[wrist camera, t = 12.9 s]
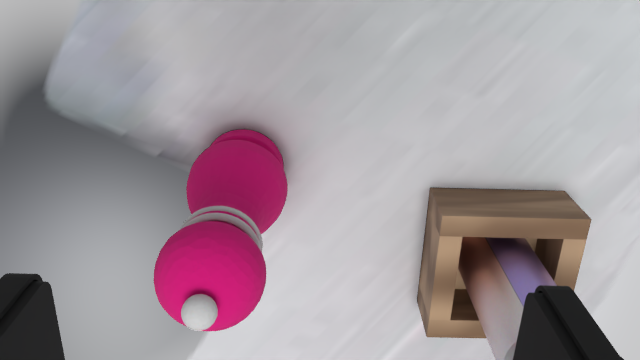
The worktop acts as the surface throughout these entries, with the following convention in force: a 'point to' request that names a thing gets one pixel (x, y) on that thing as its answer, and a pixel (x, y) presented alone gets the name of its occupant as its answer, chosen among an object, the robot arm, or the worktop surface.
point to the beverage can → (500, 286)
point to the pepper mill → (223, 233)
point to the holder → (500, 222)
